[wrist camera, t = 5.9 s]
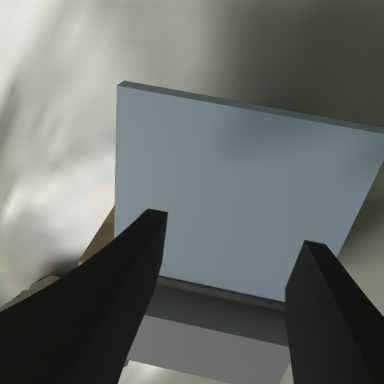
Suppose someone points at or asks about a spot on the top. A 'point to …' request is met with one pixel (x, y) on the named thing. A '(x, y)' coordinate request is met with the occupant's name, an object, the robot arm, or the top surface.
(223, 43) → the top surface
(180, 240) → the trapdoor
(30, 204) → the top surface
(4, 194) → the top surface
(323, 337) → the robot arm
